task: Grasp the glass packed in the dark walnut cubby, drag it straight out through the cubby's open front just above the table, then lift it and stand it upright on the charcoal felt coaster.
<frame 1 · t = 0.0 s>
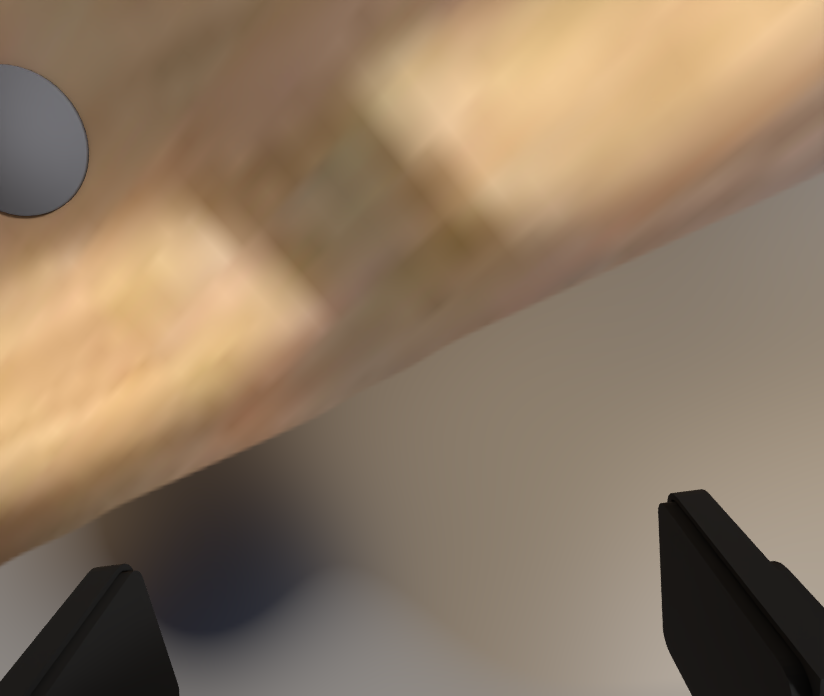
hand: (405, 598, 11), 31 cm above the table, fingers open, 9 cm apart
felt coaster: (17, 142, 38), on the table
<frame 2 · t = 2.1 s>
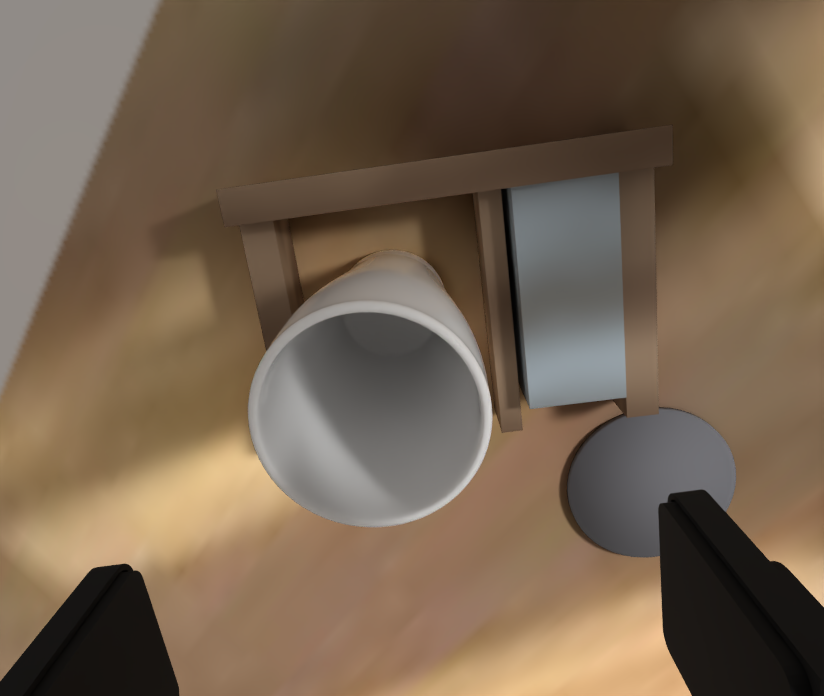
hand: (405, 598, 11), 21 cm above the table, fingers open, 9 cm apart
felt coaster: (649, 482, 33), on the table
walnut cubby: (453, 302, 30), on the table
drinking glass: (393, 299, 31), resting in walnut cubby
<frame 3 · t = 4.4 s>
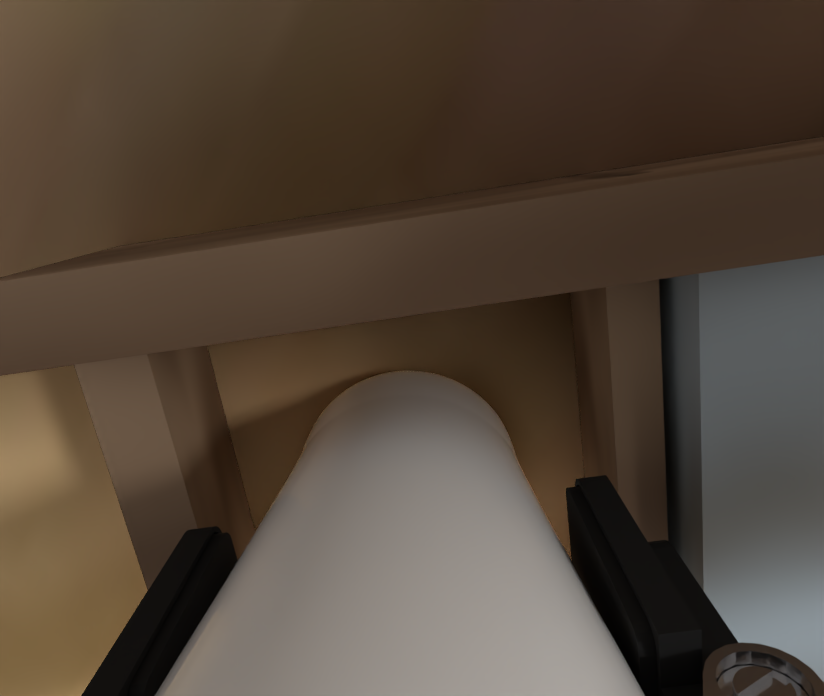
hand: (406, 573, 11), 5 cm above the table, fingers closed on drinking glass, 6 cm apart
walnut cubby: (525, 460, 16), on the table
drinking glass: (409, 455, 16), resting in walnut cubby, touching gripper
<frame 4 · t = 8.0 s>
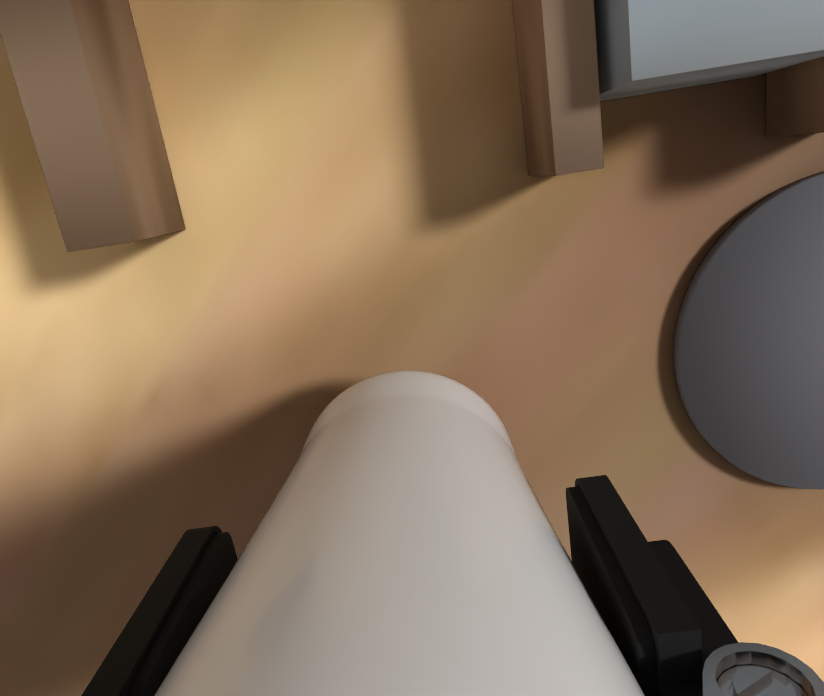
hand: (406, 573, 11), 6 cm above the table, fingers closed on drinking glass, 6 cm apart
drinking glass: (409, 455, 16), point 1 cm above the table, touching gripper
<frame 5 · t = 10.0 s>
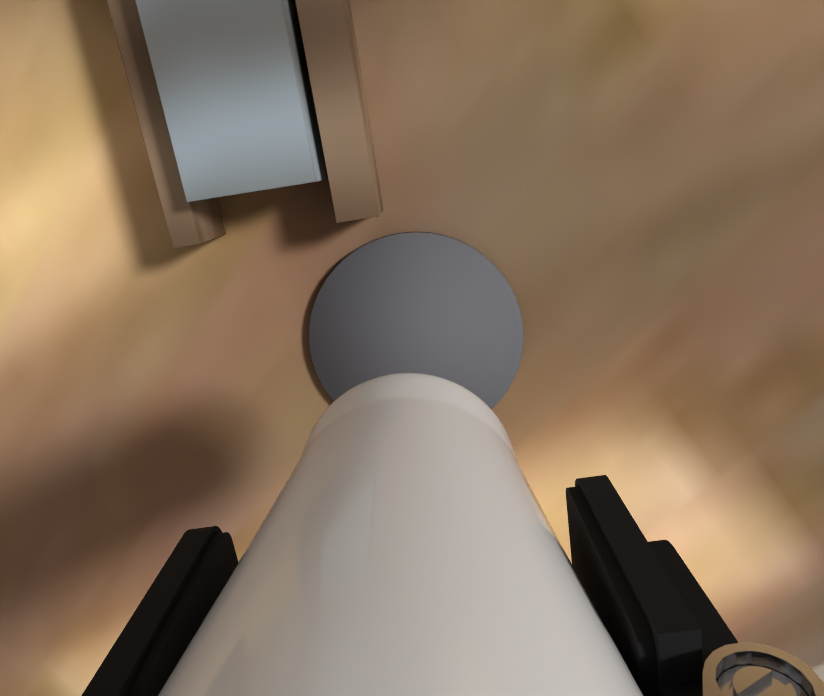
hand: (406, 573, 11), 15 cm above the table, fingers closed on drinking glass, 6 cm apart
felt coaster: (415, 338, 26), on the table
walnut cubby: (123, 86, 23), on the table
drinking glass: (409, 457, 16), point 10 cm above the table, touching gripper
when the fingers open (6 cm above the table, at t = 11.8 s): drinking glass stays where it is, resting on felt coaster.
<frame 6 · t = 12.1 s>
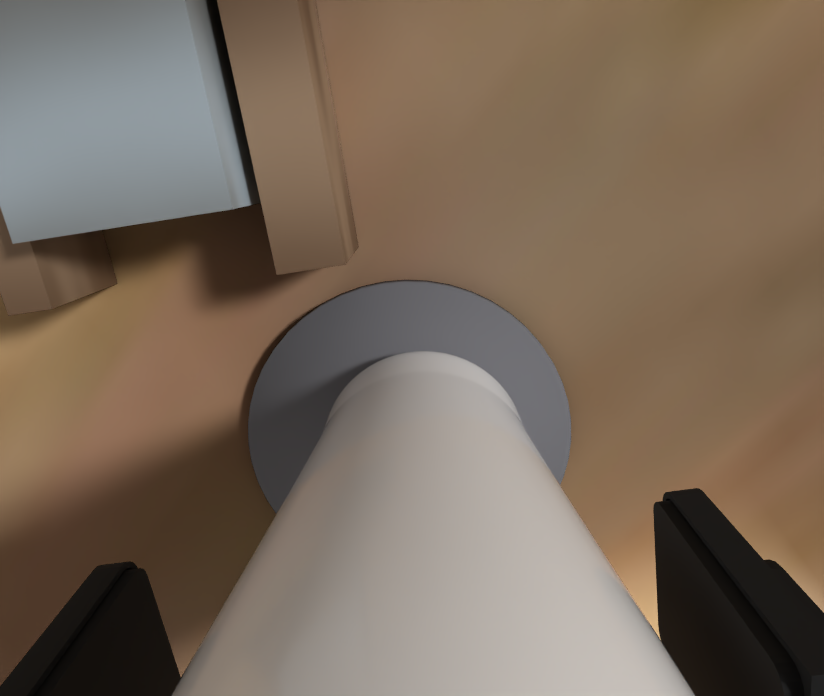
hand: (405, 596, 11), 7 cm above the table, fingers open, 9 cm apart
felt coaster: (409, 435, 17), on the table
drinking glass: (423, 432, 17), resting on felt coaster
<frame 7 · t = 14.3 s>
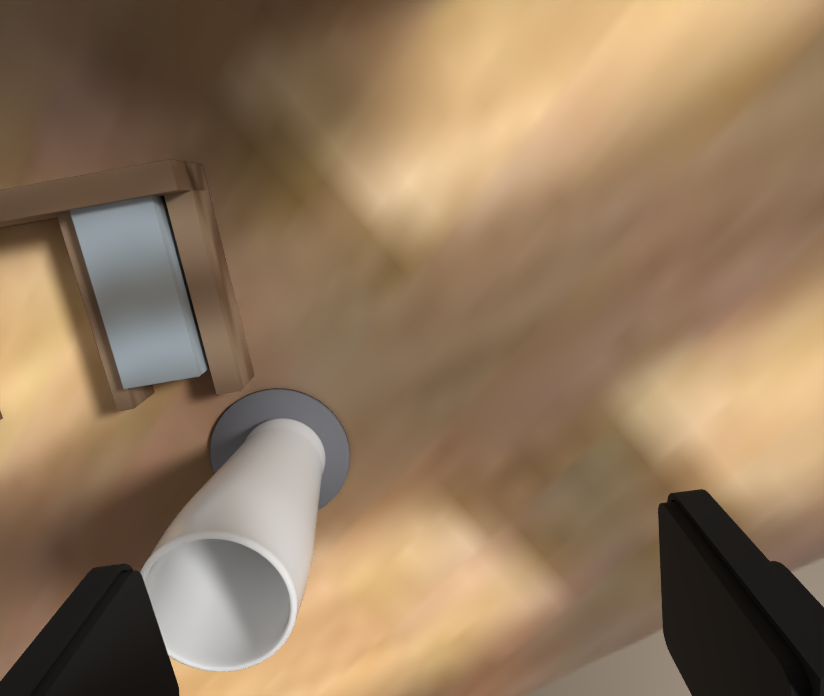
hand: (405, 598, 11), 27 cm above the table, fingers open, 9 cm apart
felt coaster: (281, 453, 40), on the table
walnut cubby: (88, 307, 37), on the table
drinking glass: (286, 452, 39), resting on felt coaster
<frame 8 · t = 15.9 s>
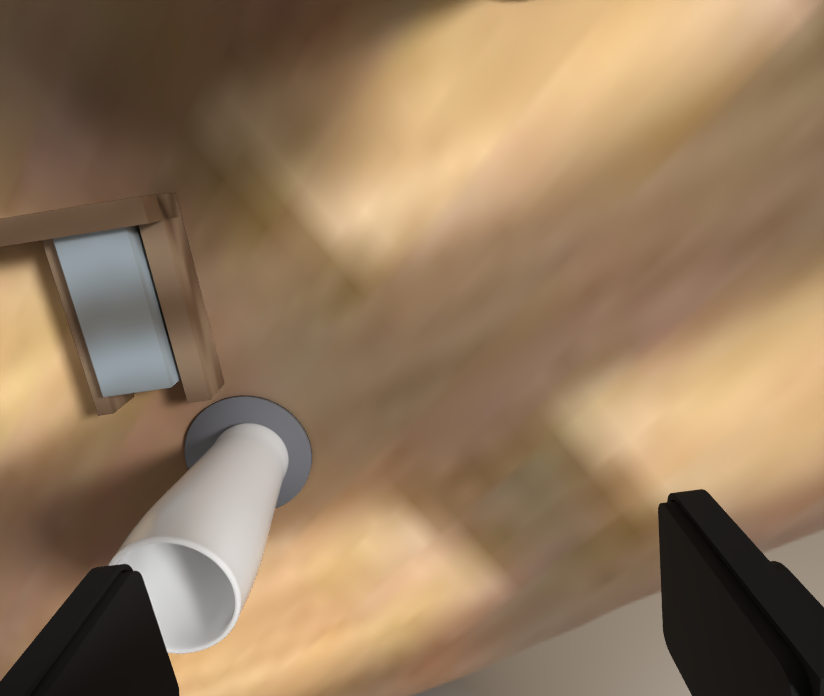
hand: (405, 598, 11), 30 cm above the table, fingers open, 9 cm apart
felt coaster: (249, 454, 43), on the table
walnut cubby: (72, 319, 41), on the table
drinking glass: (253, 453, 43), resting on felt coaster
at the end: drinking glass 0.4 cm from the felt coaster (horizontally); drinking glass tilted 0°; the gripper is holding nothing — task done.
